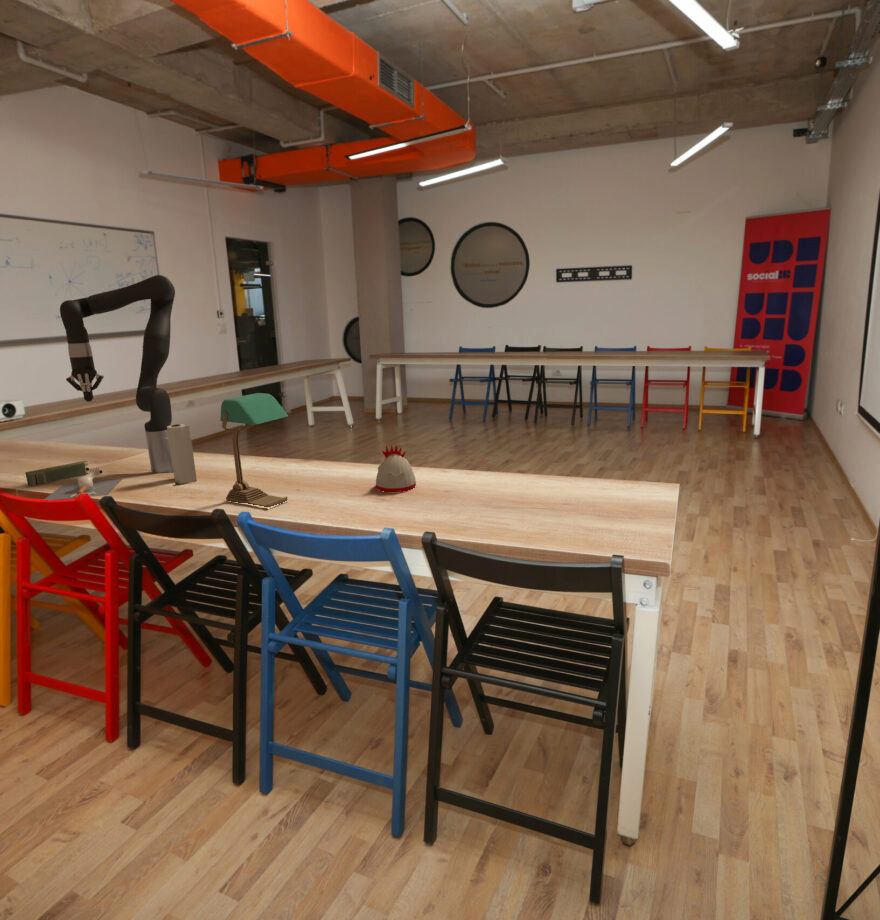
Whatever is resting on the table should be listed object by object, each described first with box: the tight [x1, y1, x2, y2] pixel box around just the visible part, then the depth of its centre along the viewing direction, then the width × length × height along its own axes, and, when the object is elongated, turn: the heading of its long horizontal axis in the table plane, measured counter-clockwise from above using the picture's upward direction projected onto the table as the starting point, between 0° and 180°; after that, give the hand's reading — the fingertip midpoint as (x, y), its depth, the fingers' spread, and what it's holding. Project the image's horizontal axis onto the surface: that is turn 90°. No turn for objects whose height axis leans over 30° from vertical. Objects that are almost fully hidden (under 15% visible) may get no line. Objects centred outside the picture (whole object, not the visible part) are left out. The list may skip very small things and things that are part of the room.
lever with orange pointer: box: [76, 467, 101, 494], centre depth 220 cm, size 22×4×4 cm, turn 16°
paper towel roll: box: [167, 423, 198, 485], centre depth 225 cm, size 7×6×21 cm
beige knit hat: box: [375, 444, 417, 493], centre depth 213 cm, size 14×14×15 cm
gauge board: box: [43, 478, 123, 501], centre depth 219 cm, size 20×20×2 cm
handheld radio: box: [25, 460, 103, 487], centre depth 234 cm, size 7×3×25 cm
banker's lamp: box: [220, 392, 289, 507], centre depth 198 cm, size 16×21×35 cm
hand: (89, 401), depth 235 cm, fingers closed
